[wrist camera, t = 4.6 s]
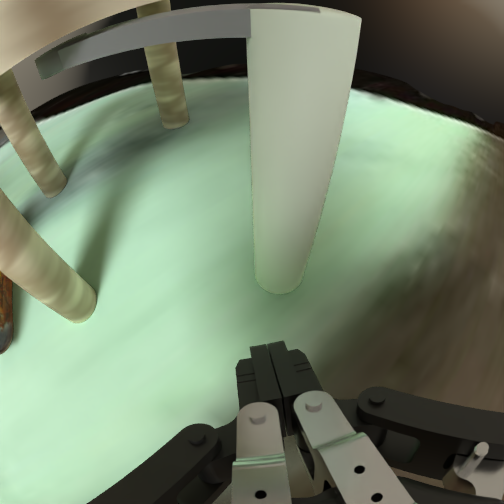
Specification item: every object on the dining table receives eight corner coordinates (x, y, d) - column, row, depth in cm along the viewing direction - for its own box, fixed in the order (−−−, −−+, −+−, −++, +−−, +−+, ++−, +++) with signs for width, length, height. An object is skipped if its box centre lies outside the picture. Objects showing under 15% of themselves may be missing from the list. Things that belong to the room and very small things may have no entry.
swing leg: (133, 270, 21) (17, 72, 6) (148, 233, 22) (66, 39, 8) (300, 297, 19) (372, 24, 4) (305, 254, 21) (353, 10, 6)
